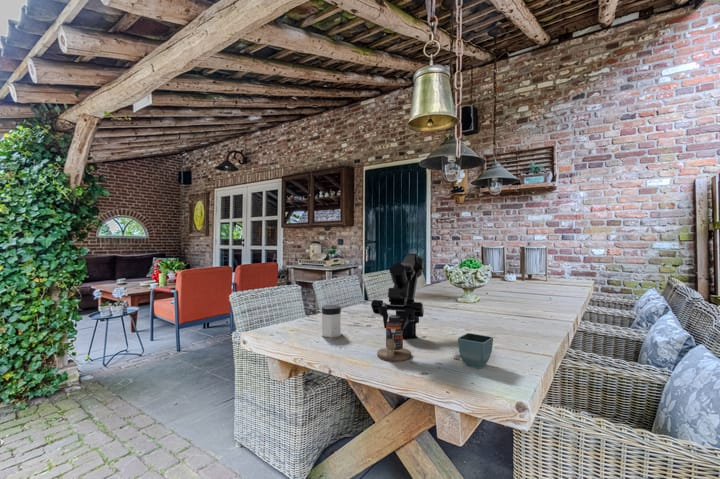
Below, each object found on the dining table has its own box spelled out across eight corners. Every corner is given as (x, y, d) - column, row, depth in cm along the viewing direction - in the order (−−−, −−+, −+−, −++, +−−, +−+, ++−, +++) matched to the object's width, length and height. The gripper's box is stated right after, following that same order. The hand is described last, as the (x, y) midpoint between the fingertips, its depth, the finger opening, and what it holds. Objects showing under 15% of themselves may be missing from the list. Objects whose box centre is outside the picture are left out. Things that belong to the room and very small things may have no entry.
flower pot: (467, 358, 119) (467, 332, 118) (493, 364, 113) (493, 336, 113) (457, 365, 112) (457, 338, 112) (484, 372, 106) (484, 343, 106)
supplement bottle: (396, 352, 118) (396, 319, 118) (382, 348, 122) (382, 316, 122) (406, 347, 122) (405, 315, 122) (392, 344, 126) (392, 313, 126)
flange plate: (382, 348, 129) (382, 329, 129) (414, 351, 125) (414, 332, 125) (372, 359, 117) (372, 339, 117) (407, 363, 114) (407, 342, 114)
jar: (326, 338, 142) (326, 309, 142) (317, 334, 149) (317, 306, 149) (345, 335, 147) (345, 307, 147) (335, 331, 154) (335, 304, 154)
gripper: (372, 278, 129) (363, 314, 118) (422, 279, 123) (417, 318, 112) (378, 295, 136) (369, 330, 126) (425, 298, 130) (421, 335, 120)
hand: (393, 328), depth 121 cm, fingers closed on supplement bottle, 6 cm apart
